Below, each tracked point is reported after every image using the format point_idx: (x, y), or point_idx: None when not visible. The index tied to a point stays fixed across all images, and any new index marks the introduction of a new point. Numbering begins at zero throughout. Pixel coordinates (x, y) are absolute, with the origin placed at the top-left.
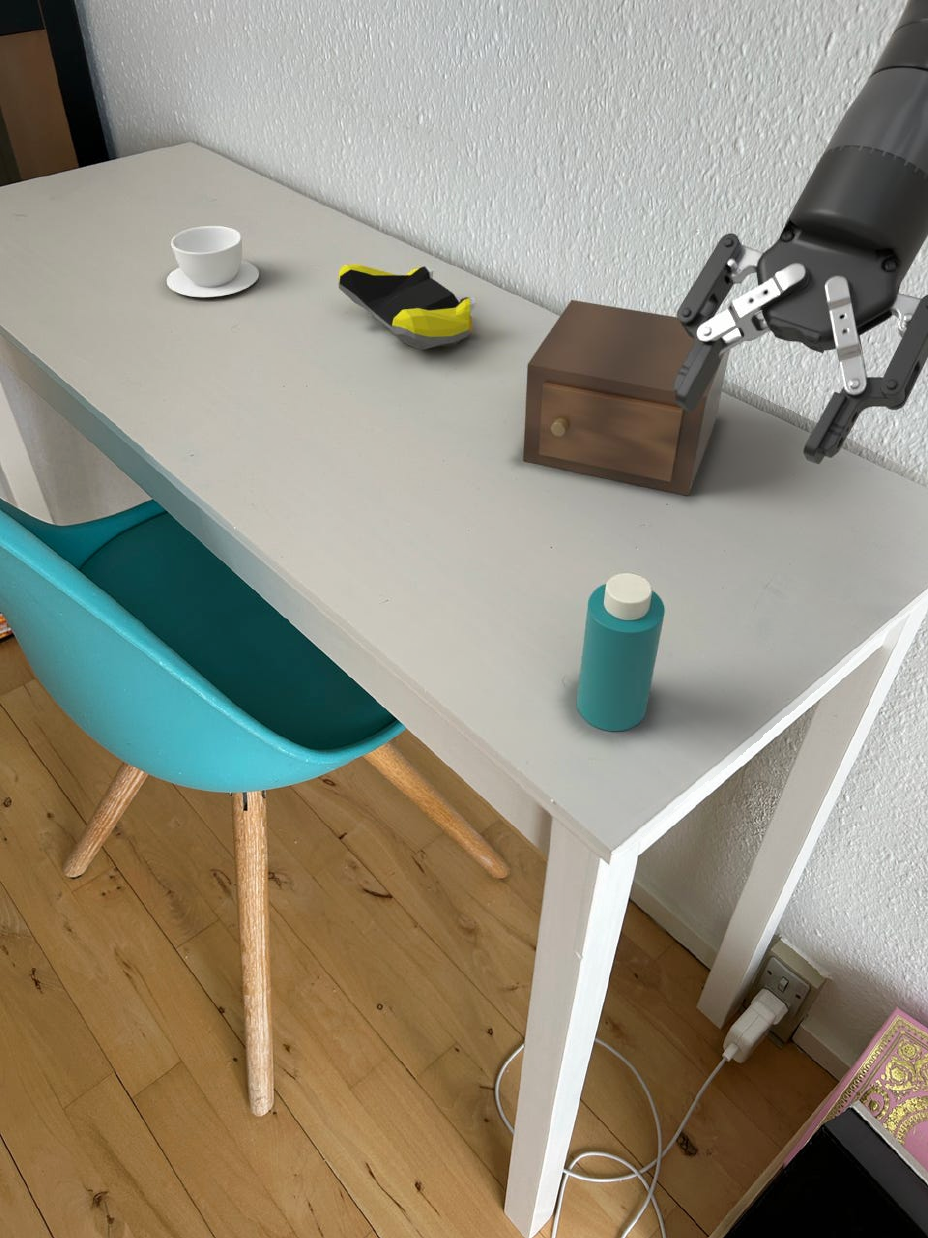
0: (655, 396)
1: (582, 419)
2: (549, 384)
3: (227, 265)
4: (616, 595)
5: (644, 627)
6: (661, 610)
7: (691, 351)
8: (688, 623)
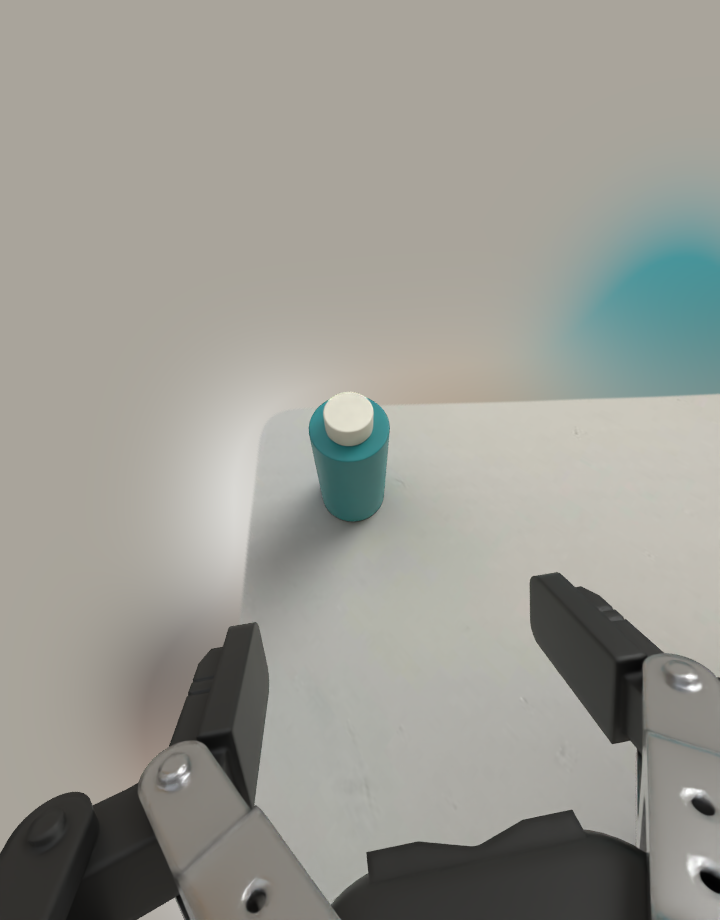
0: None
1: None
2: None
3: None
4: (348, 394)
5: (314, 417)
6: (319, 446)
7: (651, 647)
8: (382, 637)
